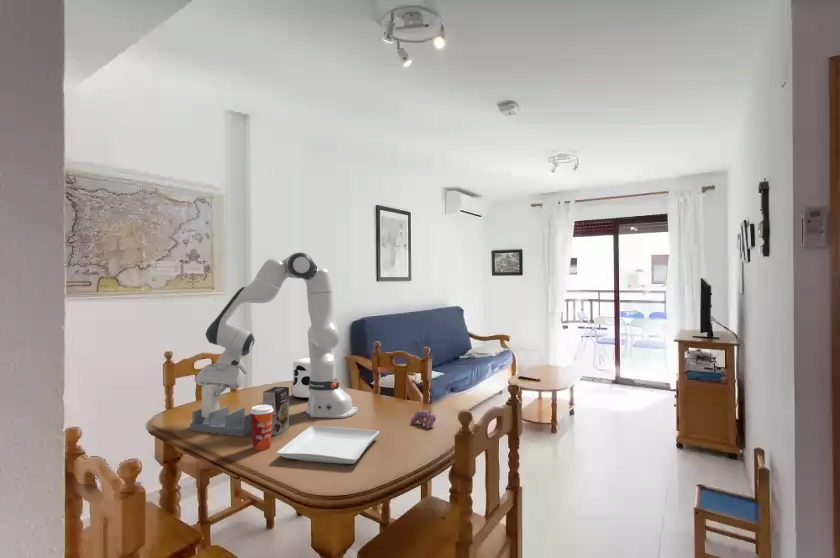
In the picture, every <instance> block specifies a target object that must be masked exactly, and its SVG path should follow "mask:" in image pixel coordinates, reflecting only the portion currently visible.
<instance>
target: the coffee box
mask: <svg viewBox="0 0 840 558" xmlns="http://www.w3.org/2000/svg"><path fill="white" fill-rule="evenodd" d="M262 394H263V395H262V405H271V406H272V408H273V409H274V411H273V414H272V430H271V436H278V435H279V434H281V433H283V432H284V431H286V430H287V429H289V427H290V426H289V425H290V424H289V423H290V387H289V386H274V387H271V388H269V389H267V390H264V391H262Z"/></svg>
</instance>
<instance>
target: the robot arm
mask: <svg viewBox="0 0 840 558" xmlns="http://www.w3.org/2000/svg"><path fill="white" fill-rule="evenodd" d="M288 278H292V279H302V280H303V281H304V282H305V284H306V293H307V294H306V297H307V298H306V299H307V308H308V309H307V310H308V311H307V312H308V314H309V318H310V324H311V325H310V326H309V328H308V330H307V344H308V356H309V358H310V380H309V392H310V393H309V399H308V401H307V407H306V409H305V410H306V411H305V412H306V414H307V415H309V417H310V418H327V419H328V418H329V419H331V418H332V419H333V418H335V419H346V418H349V417H351V416H354V415H355V414H356V413H357V412H358V407H357V406H353V401H352V400H353V399H352V397H351V395H349V394H348V393H346V392H345V391H344V390H343V389H342V388H341V387H340V383H341V379H340V380H338V379H337V378H336V357H335V353H334V348H336V347H337V346H338V344H339V342H340V333H339V327H338V323H337V318H336V314H335V305H334V295H333V292H334V291H333V285H332V279H331V276H330V272H329V271H328V269H327V268H325V267H322V266H321V267H320V266H317V265H316V263H315V262H314V260H313V259H312V258H311V256H310V255H309V254H307V253H305V252H295V253H291V254H290V255H289V256H287V257H286V258H285V259H283V260H280V259H278V258H269V259H267V260H266V261H265V262H264V263H263V264H262V266H261V268H259V270H258V272H257V274H256V275H255V277H254V279H253V280H252V282H251V283H250V284H249V285H247V286H242V287H241V288H239V289H238V290H237V292H235V294H234V295H233V296H232V297H231V299H230V300H229V301H228V303H227V304H226V305H225V307H224V308H223V309H222V311H221V312H219V314H218V316H217V317H216V318H215V319H214V321H212V323H211V324H209V325H208V327H207V329H206V332H205V338H206V340H207V342H208V343H209V344H213V345H216V346H219V347H222V348H224V350H223V352H222V353H221V354H220V355H219V357H218V359H216V362H215V363H214V364H207V365H205V366H203V367H202V368H201V370H199V371H198V373H197V375H196V376H195V377H194V382H195V383H196V384H197V385H198V386H201V387H202V386H205V385H208V384H217V385H220V388H219V389H218V390H217V391H215V393H214V396H217V397H219V398H220V396H221V394H222V393H223V392H225V391H226V390H227V389H238V388H241V386H242V384H243V383H244V380H245V378H246V375H247V374H248V369H247V368H246V366H245V365H244V364H243V363H242V360H243V359H244V358H245V357H246V356H248V355H249V353H250V351H251V350H252V348H253V347H254V345H255V337H254V334H253V333H252V332H250V331H248V330H246V329H244V328H241V327H238V326H237V325H234V324H231V323H230V322H229V320H230V318H231V317H232V316H233V314H234V313H235V312H236V311H237V309H238V308H239V307H240V306H242V305H243V304H247V303H248V304H267V303H270V302H272V301H273V300H274V299H276V297H277V295H278V293H279V291H280V289H281V287H282V285H283V284H284V282H285V280H286V279H288ZM200 394H201V395H202V391H201V392H200Z"/></svg>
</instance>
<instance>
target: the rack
mask: <svg viewBox="0 0 840 558" xmlns="http://www.w3.org/2000/svg"><path fill="white" fill-rule="evenodd" d="M229 408H230V407H229V405H225V406H224V407H220V408H219V409H218V410H216V411H213V412H211V413H209V418H205V417H201V416H202V407H201V408H198V409H195V410H193V411H192V415H191V416H192V419H191V421H192V423H189V431H190V430H193V431H192V432H199V431H201V433H207V432H210V433H209V434H216V433H218V434H217V435H224V434H226V435H227V436H233V435H234V437H241V436H244V437H245V436H247V435H249V434H250V432H251V433H252V419H251V413H250V412H249V413H247V414H245V410H246V409H245V407H241V408H238V409H235V410H234V411H231V412H230V411H229V410H230V409H229ZM226 435H225V436H226Z"/></svg>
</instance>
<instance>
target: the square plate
mask: <svg viewBox="0 0 840 558" xmlns="http://www.w3.org/2000/svg"><path fill="white" fill-rule="evenodd" d="M379 433H380V431H379V430H371V429H362V428H361V429H360V428H352V427H344V426H342V427H341V426H340V427H339V426H322V425H321V426H319V425H311V426H308V428H306V429H304V430H303V431H302V432H300V433H299V434H298V435H297V436H295V437H294V438H293V439H291V440H290V441H289V442H287V443H286V444H285V445H284V446H282V447H281V448H280V449H279V450H277V452H276V454H277V455H279V456H281V457H283V458H285V459H288V460H289V459H291V460H293V459H294V460H298V461H305V462H317V463H329V464H337V465H338V464H340V465H341V464H345V465H346V464H347V465H349V464H351V465H352V464H355V463H356V462H357V461H358V460H359V459H360V457H361V456H362V454H363V453H364V452H365V450H366V449H367V448H368V447H369V446H370V445H371V444H372V443H373V441H374V440H375V439H376V438H377V437H378V436H379Z"/></svg>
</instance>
